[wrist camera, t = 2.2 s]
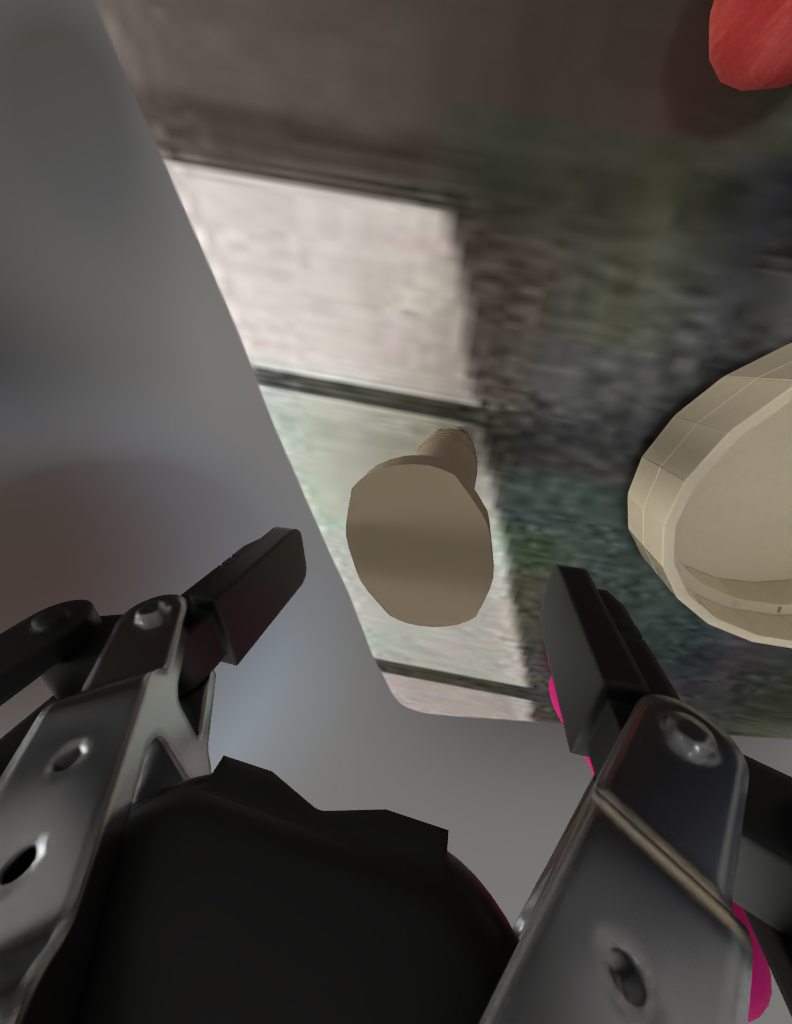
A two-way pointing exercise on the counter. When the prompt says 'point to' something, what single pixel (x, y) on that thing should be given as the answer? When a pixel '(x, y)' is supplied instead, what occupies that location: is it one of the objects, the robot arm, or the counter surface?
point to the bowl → (725, 502)
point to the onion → (751, 43)
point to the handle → (423, 533)
